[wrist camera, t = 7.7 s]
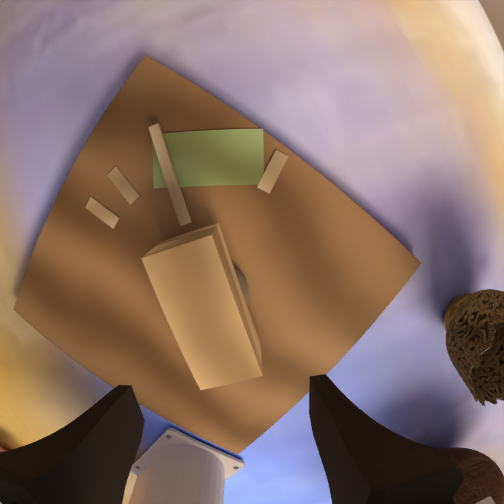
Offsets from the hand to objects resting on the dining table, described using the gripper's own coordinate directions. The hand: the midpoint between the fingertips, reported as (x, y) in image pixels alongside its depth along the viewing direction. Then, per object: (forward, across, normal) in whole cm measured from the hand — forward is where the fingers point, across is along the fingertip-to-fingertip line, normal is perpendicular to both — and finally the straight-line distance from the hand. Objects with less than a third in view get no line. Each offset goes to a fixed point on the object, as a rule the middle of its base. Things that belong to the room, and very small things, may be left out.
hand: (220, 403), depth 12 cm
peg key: (+9, +2, -5) cm, 10 cm away
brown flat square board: (+10, +2, -2) cm, 10 cm away
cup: (+10, -18, +3) cm, 21 cm away
